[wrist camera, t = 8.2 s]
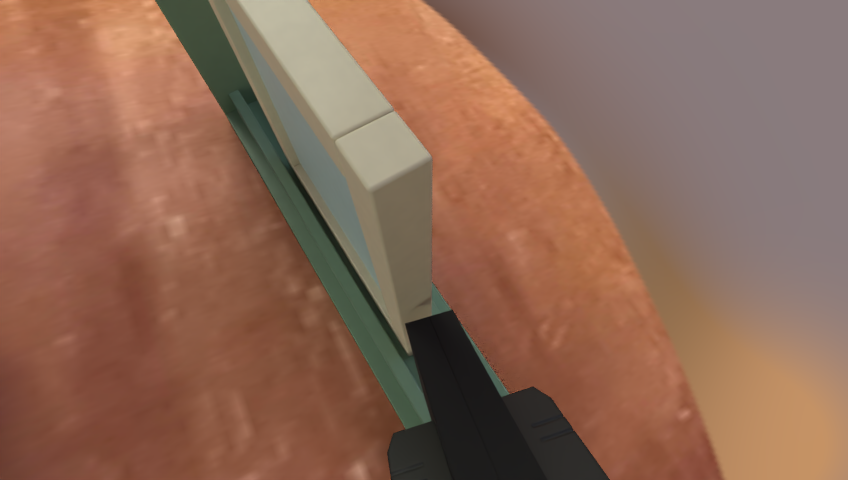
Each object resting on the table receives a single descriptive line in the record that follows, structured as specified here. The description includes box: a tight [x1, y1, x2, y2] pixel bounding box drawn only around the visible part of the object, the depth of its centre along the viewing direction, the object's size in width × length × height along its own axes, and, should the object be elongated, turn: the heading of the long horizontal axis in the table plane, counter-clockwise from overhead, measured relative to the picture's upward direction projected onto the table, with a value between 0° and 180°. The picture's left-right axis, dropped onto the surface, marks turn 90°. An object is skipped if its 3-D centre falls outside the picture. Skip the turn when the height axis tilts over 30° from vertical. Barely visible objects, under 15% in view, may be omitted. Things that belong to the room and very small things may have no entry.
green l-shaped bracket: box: [155, 0, 509, 429], centre depth 15 cm, size 27×4×17 cm, turn 33°
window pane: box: [208, 0, 432, 356], centre depth 15 cm, size 12×1×13 cm, turn 33°
